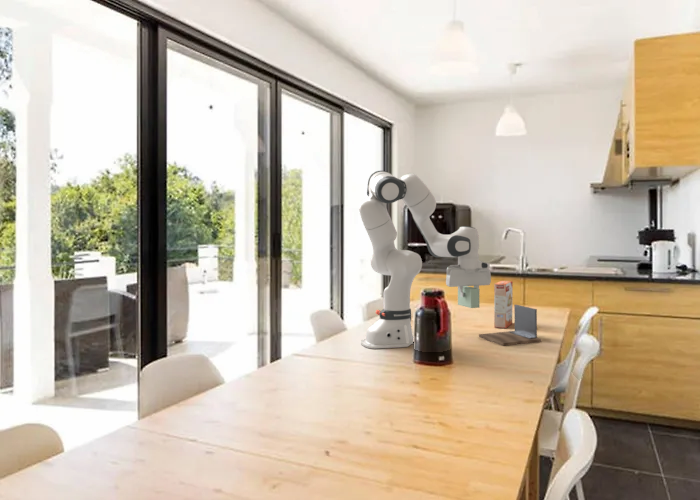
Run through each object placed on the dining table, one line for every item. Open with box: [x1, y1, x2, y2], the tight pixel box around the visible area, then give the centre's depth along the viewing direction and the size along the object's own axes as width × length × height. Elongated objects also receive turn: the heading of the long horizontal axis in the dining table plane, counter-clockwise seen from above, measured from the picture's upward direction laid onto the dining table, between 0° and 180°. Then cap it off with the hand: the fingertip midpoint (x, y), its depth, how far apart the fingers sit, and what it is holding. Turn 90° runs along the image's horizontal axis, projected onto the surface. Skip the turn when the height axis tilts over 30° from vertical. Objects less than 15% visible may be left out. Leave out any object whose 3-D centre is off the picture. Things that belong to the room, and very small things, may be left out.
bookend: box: [509, 304, 538, 339], centre depth 221 cm, size 4×14×12 cm, turn 18°
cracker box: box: [493, 280, 514, 329], centre depth 248 cm, size 14×6×21 cm, turn 151°
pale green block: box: [457, 286, 480, 309], centre depth 224 cm, size 4×11×8 cm, turn 18°
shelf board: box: [478, 330, 542, 347], centre depth 220 cm, size 18×18×1 cm
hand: (468, 296), depth 224 cm, fingers closed on pale green block, 4 cm apart
